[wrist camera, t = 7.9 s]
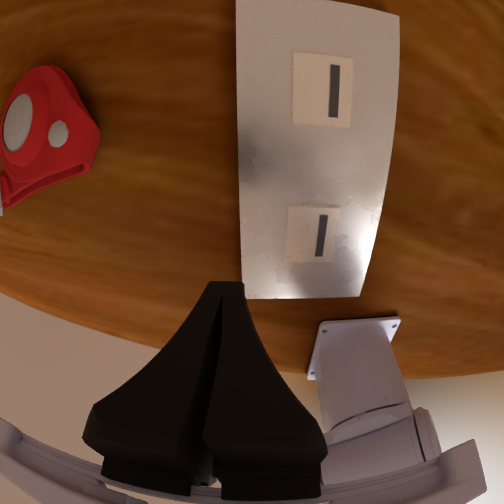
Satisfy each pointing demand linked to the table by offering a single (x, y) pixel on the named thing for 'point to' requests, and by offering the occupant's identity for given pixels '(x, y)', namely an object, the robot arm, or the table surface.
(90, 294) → the table surface
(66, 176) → the tracker holder
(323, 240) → the white slotted plate
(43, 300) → the table surface
